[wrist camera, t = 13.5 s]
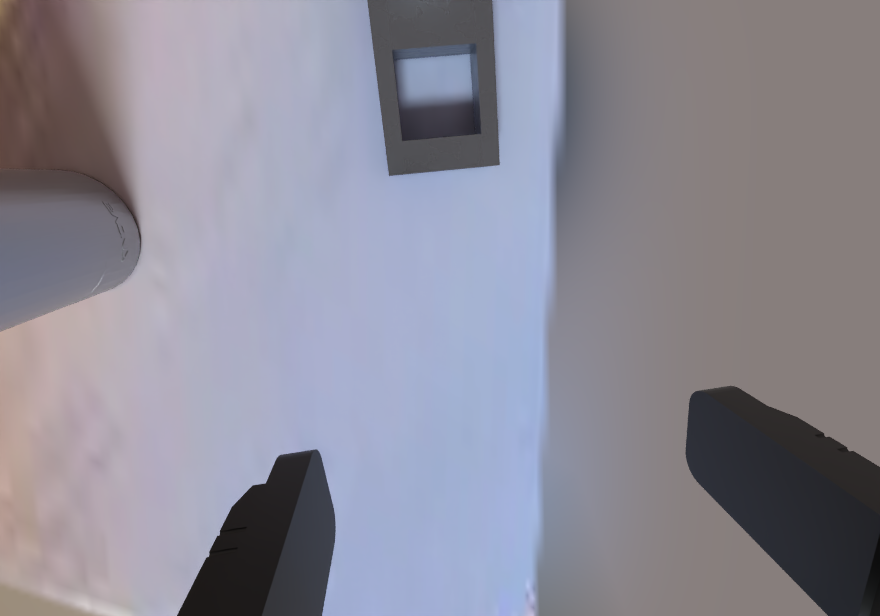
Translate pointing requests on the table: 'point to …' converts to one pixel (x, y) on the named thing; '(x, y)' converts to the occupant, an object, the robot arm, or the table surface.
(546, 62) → the table surface
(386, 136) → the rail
